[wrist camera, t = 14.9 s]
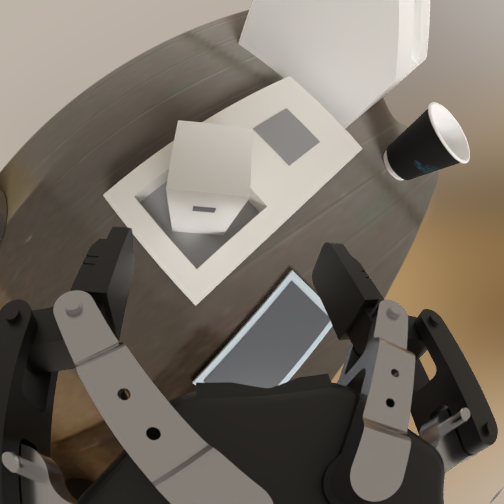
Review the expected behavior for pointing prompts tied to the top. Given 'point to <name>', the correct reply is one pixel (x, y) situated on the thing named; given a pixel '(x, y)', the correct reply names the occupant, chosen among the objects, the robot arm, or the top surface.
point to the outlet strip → (261, 189)
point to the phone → (272, 338)
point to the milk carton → (340, 47)
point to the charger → (208, 176)
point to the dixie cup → (427, 145)
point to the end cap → (77, 487)
